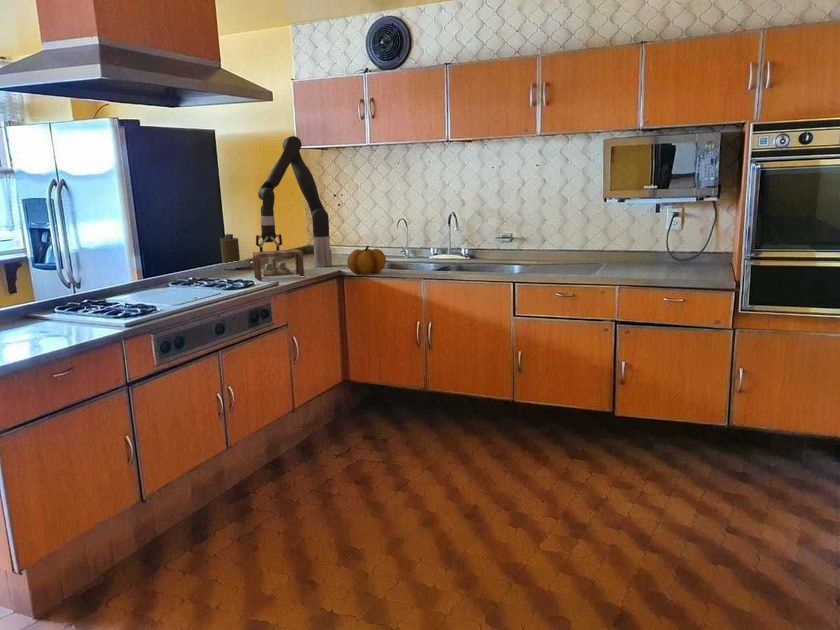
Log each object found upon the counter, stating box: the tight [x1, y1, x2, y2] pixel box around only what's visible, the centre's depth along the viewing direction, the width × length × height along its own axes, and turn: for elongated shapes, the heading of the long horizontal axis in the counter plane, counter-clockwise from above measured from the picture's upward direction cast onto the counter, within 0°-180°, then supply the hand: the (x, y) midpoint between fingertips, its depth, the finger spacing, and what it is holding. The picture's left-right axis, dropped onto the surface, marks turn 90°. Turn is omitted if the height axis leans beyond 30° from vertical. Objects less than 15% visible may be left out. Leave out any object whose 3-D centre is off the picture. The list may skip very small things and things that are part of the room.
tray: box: [261, 256, 291, 277], centre depth 365 cm, size 14×23×8 cm, turn 21°
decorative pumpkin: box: [346, 245, 387, 276], centre depth 352 cm, size 20×22×15 cm
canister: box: [219, 233, 241, 265], centre depth 384 cm, size 11×10×20 cm
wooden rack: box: [252, 248, 305, 281], centre depth 347 cm, size 24×12×14 cm, turn 111°
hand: (269, 253), depth 371 cm, fingers open, 8 cm apart
